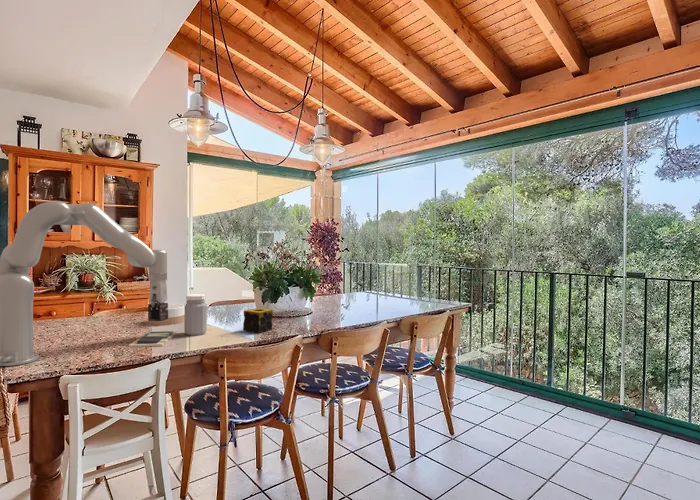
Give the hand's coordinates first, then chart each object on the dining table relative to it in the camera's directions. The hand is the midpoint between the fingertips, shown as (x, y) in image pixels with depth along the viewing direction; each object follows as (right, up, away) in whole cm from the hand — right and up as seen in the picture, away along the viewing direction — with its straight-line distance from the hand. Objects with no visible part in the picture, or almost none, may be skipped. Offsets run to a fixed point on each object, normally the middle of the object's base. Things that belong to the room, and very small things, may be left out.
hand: (158, 316), depth 185 cm
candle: (+41, -9, +16) cm, 45 cm away
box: (0, -2, 0) cm, 2 cm away
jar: (+14, -9, +8) cm, 18 cm away
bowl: (-10, -8, +34) cm, 36 cm away
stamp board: (+1, -9, -5) cm, 11 cm away
